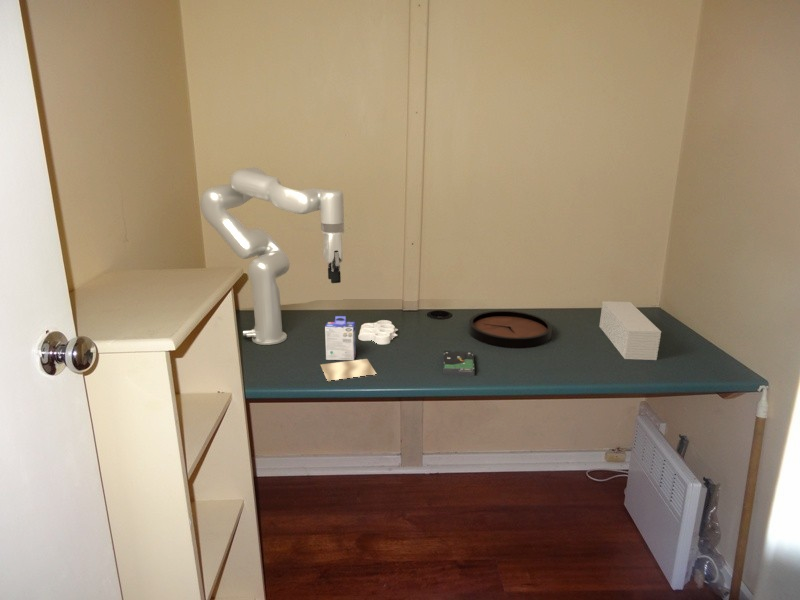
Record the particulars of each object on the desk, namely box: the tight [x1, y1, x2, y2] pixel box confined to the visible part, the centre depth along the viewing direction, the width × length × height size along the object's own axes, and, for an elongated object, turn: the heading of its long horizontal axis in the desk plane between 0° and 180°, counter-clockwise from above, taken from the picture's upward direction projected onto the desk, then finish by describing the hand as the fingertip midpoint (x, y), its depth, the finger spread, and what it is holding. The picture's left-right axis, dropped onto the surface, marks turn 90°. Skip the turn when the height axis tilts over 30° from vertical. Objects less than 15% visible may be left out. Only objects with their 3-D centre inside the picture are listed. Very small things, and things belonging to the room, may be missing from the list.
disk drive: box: [442, 350, 476, 377], centre depth 181 cm, size 10×3×15 cm
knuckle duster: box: [357, 319, 399, 345], centre depth 206 cm, size 3×18×15 cm
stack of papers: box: [598, 300, 662, 361], centre depth 201 cm, size 32×11×11 cm, turn 176°
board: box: [319, 358, 378, 382], centre depth 177 cm, size 16×12×1 cm
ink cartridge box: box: [324, 315, 357, 361], centre depth 185 cm, size 10×6×14 cm, turn 89°
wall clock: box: [468, 310, 553, 349], centre depth 210 cm, size 31×4×31 cm
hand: (334, 280), depth 186 cm, fingers open, 4 cm apart
